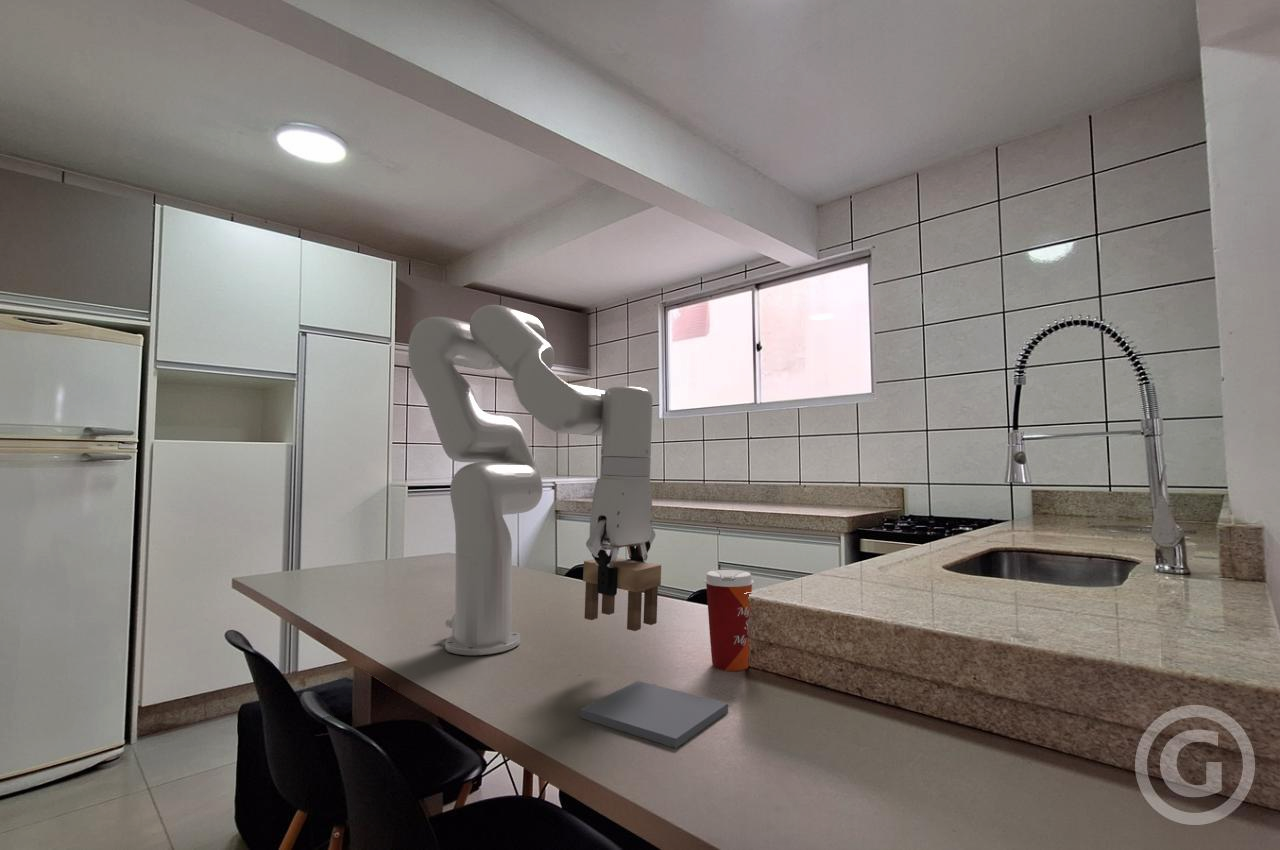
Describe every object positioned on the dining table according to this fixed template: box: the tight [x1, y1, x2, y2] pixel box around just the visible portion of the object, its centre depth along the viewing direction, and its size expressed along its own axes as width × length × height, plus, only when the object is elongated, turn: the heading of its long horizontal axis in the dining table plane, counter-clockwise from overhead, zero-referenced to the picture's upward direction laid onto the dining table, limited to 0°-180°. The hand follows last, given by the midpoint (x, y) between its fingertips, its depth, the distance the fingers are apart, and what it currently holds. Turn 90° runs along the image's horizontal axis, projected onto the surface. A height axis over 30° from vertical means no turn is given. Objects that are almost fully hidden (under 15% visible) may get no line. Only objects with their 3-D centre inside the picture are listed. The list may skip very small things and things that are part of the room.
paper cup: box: [703, 569, 755, 672], centre depth 93 cm, size 8×8×14 cm
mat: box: [579, 680, 729, 749], centre depth 74 cm, size 14×12×1 cm
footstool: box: [582, 557, 662, 632], centre depth 89 cm, size 10×6×8 cm, turn 54°
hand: (621, 589), depth 89 cm, fingers closed on footstool, 6 cm apart
